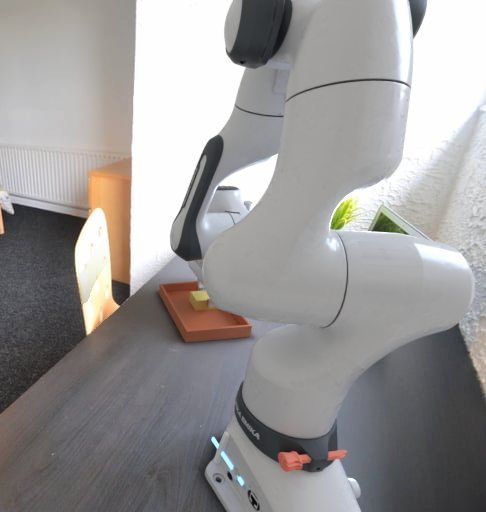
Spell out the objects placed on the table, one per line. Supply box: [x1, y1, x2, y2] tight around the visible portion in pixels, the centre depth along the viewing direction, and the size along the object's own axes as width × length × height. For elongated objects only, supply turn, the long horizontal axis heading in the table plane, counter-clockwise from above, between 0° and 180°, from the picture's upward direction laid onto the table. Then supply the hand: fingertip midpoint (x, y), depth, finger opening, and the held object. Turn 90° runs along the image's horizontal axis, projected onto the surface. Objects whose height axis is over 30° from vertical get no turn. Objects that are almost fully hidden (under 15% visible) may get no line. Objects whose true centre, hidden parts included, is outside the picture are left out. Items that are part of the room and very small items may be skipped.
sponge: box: [189, 290, 218, 311], centre depth 94 cm, size 7×4×3 cm, turn 95°
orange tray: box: [158, 280, 253, 343], centre depth 92 cm, size 21×15×3 cm
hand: (206, 299), depth 94 cm, fingers closed on sponge, 4 cm apart
